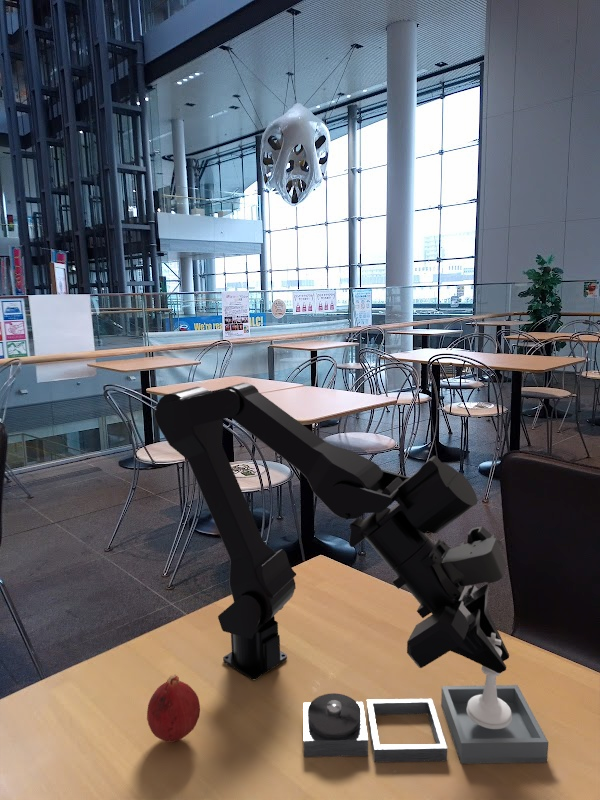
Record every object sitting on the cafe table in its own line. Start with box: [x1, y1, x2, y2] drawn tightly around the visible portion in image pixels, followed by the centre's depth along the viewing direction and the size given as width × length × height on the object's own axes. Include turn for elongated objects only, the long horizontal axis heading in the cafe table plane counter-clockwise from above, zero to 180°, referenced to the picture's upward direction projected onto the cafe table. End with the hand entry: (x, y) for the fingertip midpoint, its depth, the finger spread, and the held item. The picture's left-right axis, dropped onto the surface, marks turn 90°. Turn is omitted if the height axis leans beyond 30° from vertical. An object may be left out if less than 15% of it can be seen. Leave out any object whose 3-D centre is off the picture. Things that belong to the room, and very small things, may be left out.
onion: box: [146, 674, 201, 743], centre depth 67 cm, size 6×6×8 cm
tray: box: [440, 684, 549, 765], centre depth 68 cm, size 9×9×2 cm
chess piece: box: [467, 633, 512, 729], centre depth 67 cm, size 5×5×10 cm
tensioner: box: [303, 693, 448, 763], centre depth 68 cm, size 15×8×4 cm, turn 90°
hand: (504, 664), depth 66 cm, fingers closed on chess piece
